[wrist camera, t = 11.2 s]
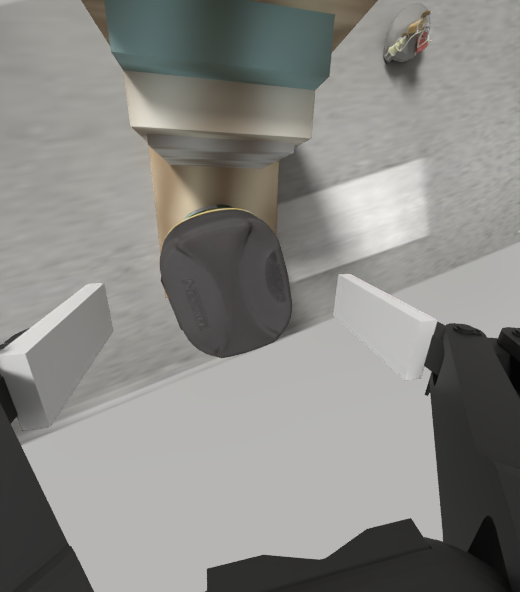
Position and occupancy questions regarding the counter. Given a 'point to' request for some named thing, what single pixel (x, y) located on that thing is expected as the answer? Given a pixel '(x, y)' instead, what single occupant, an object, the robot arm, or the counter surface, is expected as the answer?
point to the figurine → (408, 33)
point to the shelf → (222, 91)
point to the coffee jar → (226, 280)
